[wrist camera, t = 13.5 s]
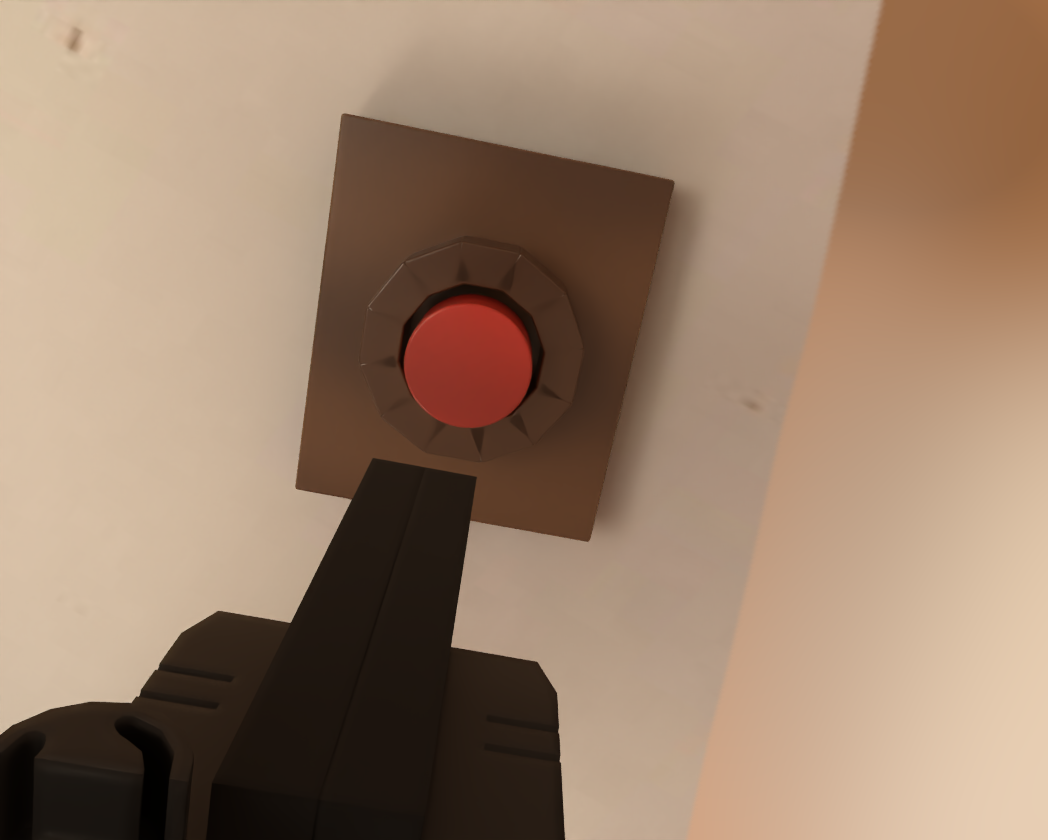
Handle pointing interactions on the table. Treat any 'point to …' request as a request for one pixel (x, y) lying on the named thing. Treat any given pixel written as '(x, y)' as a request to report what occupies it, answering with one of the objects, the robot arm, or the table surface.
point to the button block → (491, 270)
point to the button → (469, 361)
